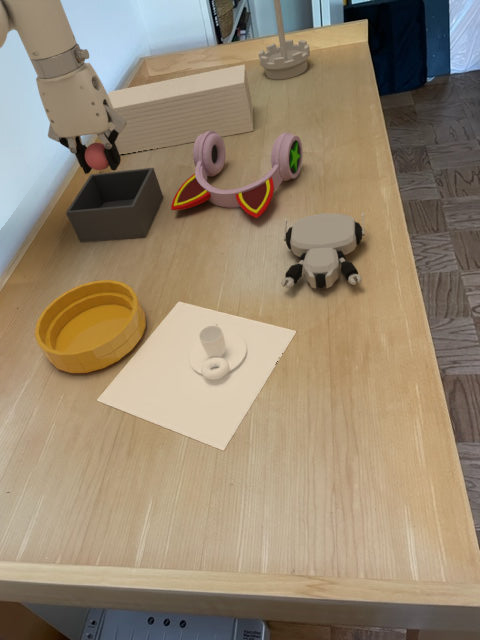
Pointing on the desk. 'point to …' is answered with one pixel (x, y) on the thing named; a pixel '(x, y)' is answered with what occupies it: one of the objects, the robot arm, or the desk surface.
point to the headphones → (249, 197)
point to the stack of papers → (183, 109)
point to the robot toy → (323, 249)
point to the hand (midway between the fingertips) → (102, 167)
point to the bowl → (91, 326)
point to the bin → (116, 205)
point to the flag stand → (284, 53)
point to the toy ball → (96, 156)
